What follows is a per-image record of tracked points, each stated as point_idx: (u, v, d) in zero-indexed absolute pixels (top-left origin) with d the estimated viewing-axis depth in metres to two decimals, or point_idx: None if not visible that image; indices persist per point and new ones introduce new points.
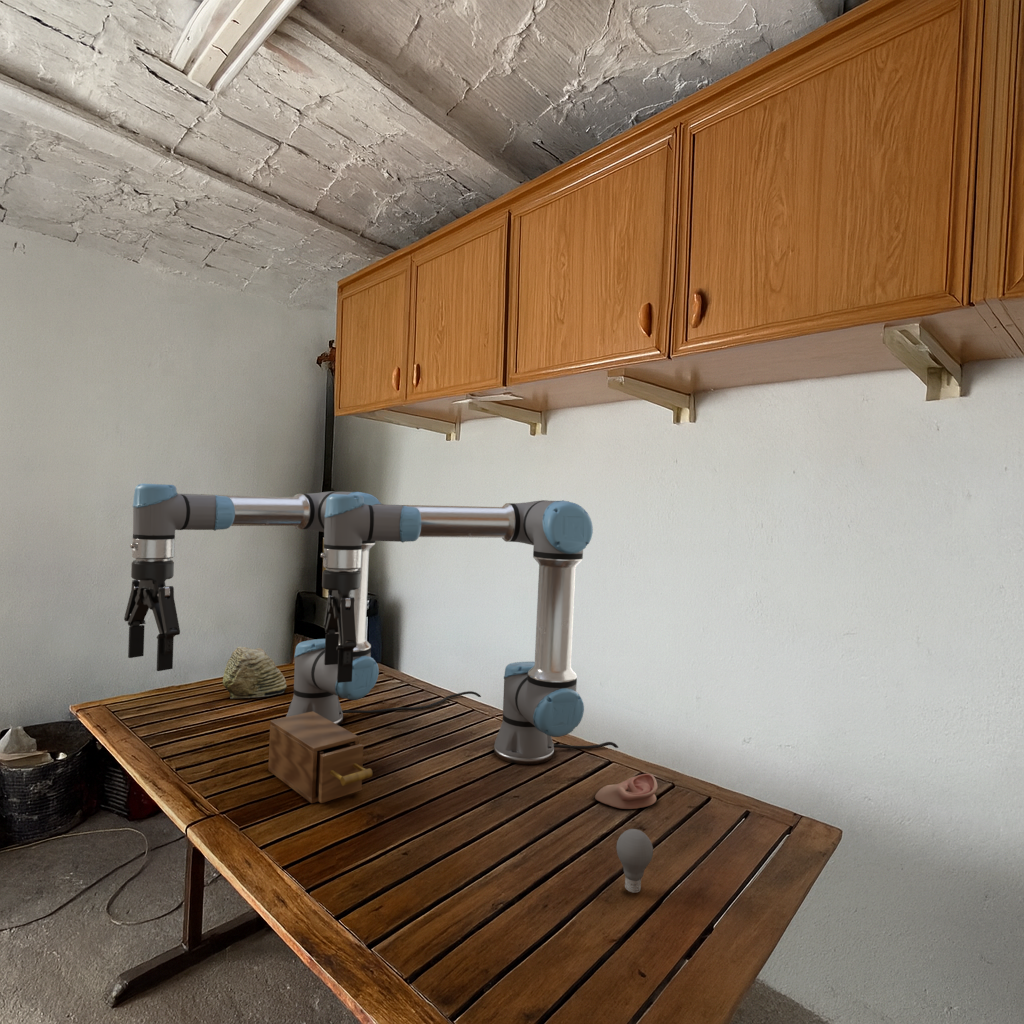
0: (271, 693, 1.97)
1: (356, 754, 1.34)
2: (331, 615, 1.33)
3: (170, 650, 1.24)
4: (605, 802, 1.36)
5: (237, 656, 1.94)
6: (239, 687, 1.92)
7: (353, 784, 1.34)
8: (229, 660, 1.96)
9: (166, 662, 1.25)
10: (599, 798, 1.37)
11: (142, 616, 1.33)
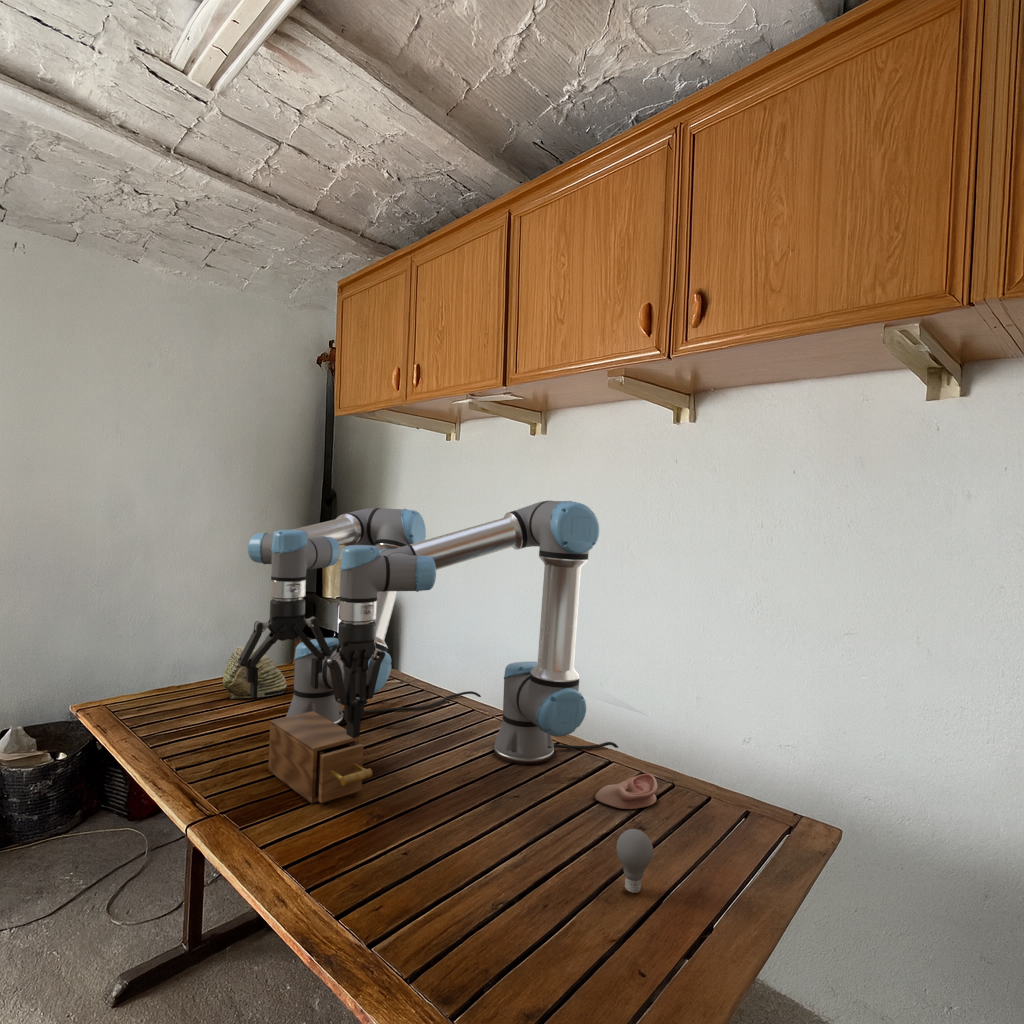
0: (271, 693, 1.97)
1: (356, 754, 1.34)
2: None
3: None
4: (605, 802, 1.36)
5: (237, 656, 1.94)
6: (239, 687, 1.92)
7: (353, 784, 1.34)
8: (229, 660, 1.96)
9: None
10: (599, 798, 1.37)
11: None
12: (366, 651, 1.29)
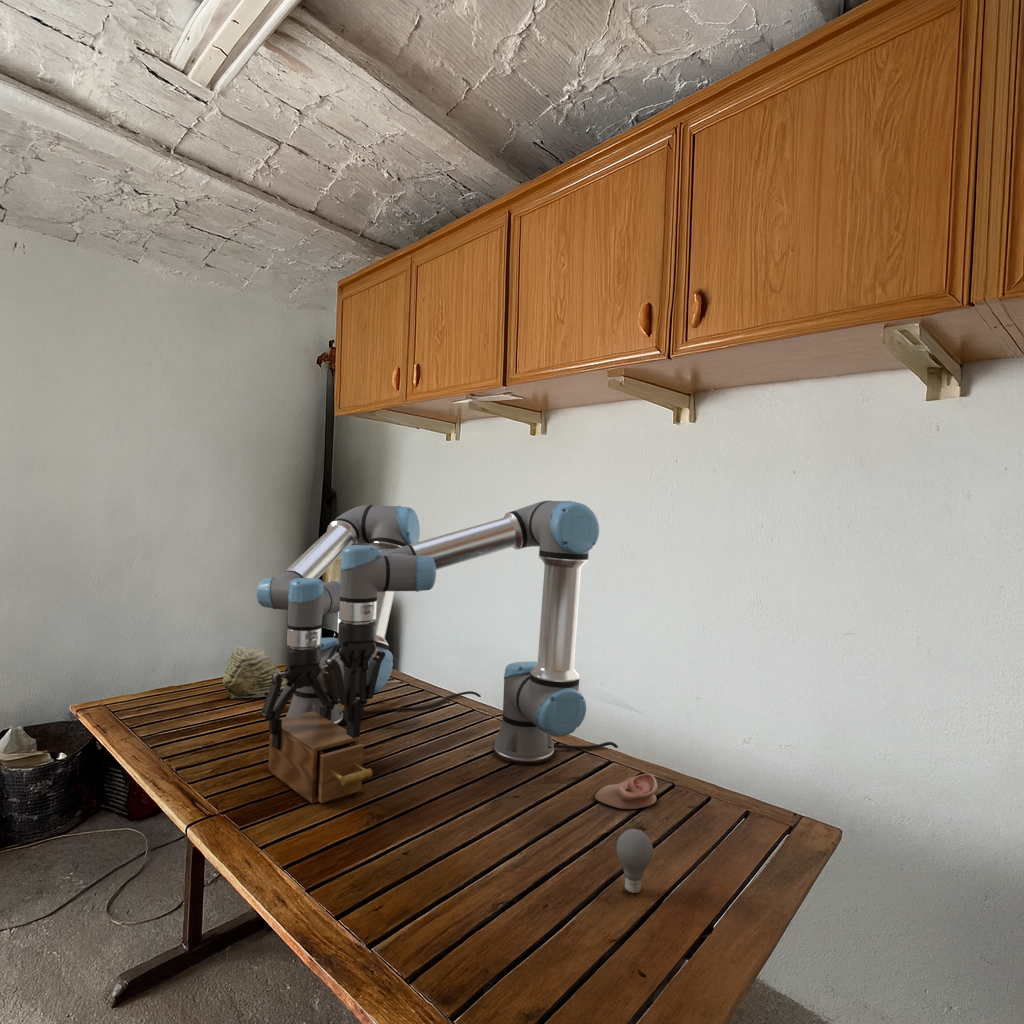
0: None
1: (356, 754, 1.34)
2: None
3: None
4: (605, 802, 1.36)
5: (237, 656, 1.94)
6: (239, 687, 1.92)
7: (353, 784, 1.34)
8: (229, 660, 1.96)
9: None
10: (599, 798, 1.37)
11: None
12: (366, 651, 1.29)
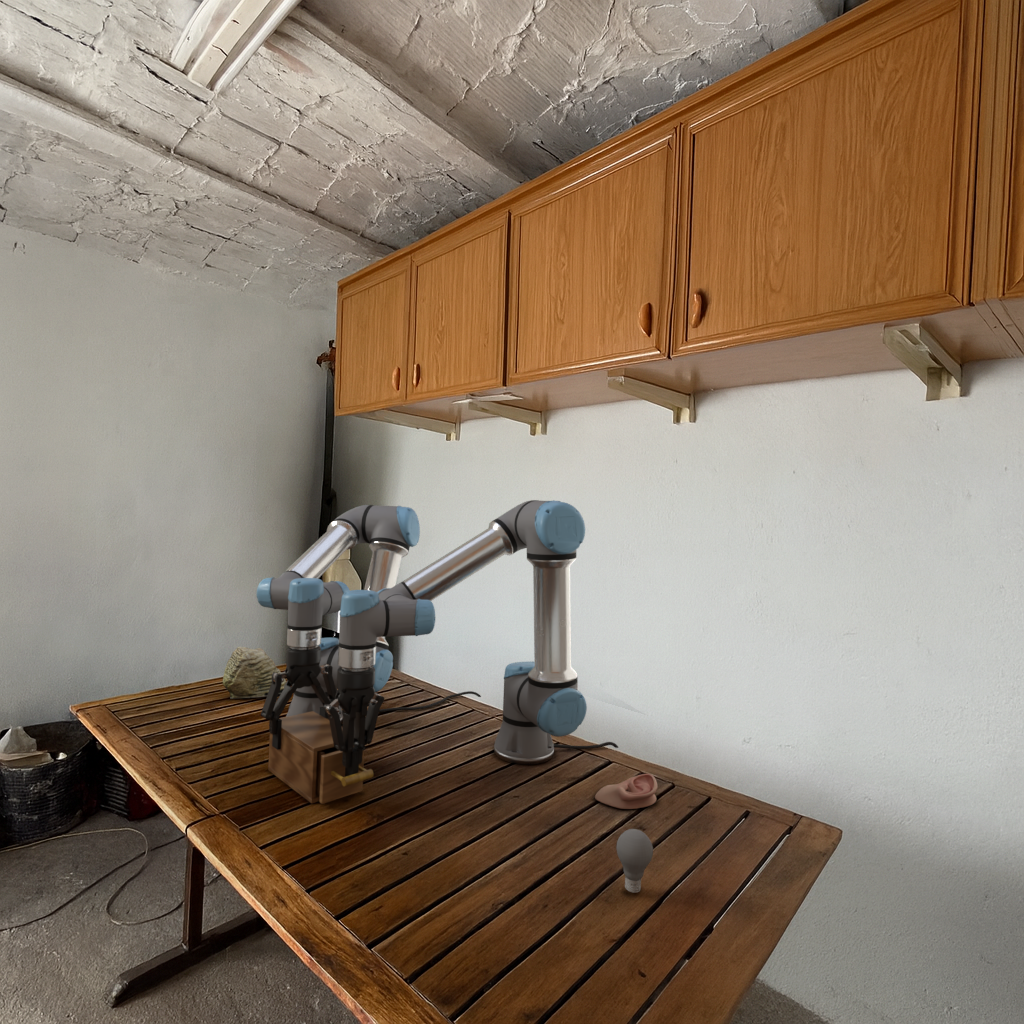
0: None
1: None
2: None
3: None
4: (605, 802, 1.36)
5: (237, 656, 1.94)
6: (239, 687, 1.92)
7: (354, 785, 1.34)
8: (229, 660, 1.96)
9: None
10: (599, 798, 1.37)
11: None
12: (365, 697, 1.29)
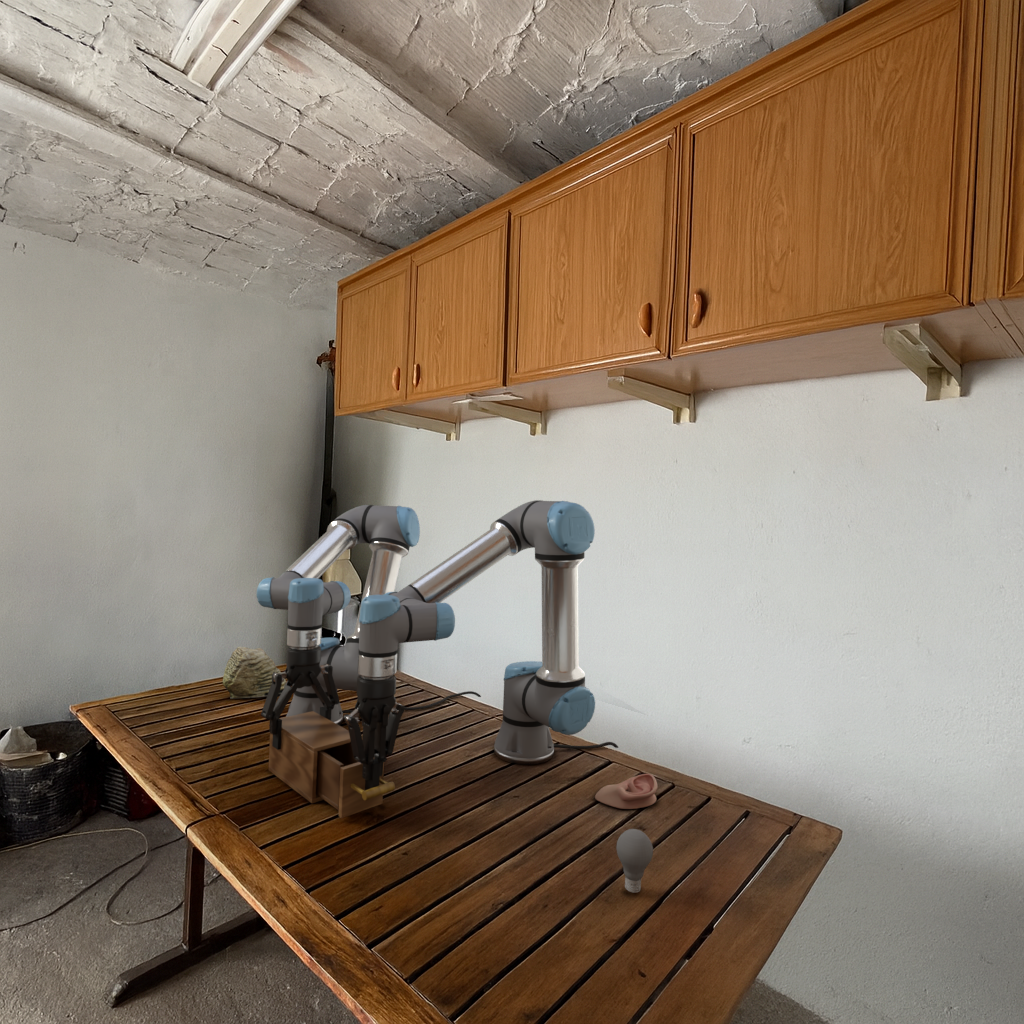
0: None
1: None
2: None
3: None
4: (605, 802, 1.36)
5: (237, 656, 1.94)
6: (239, 687, 1.92)
7: (374, 798, 1.29)
8: (229, 660, 1.96)
9: None
10: (599, 798, 1.37)
11: None
12: (386, 706, 1.24)
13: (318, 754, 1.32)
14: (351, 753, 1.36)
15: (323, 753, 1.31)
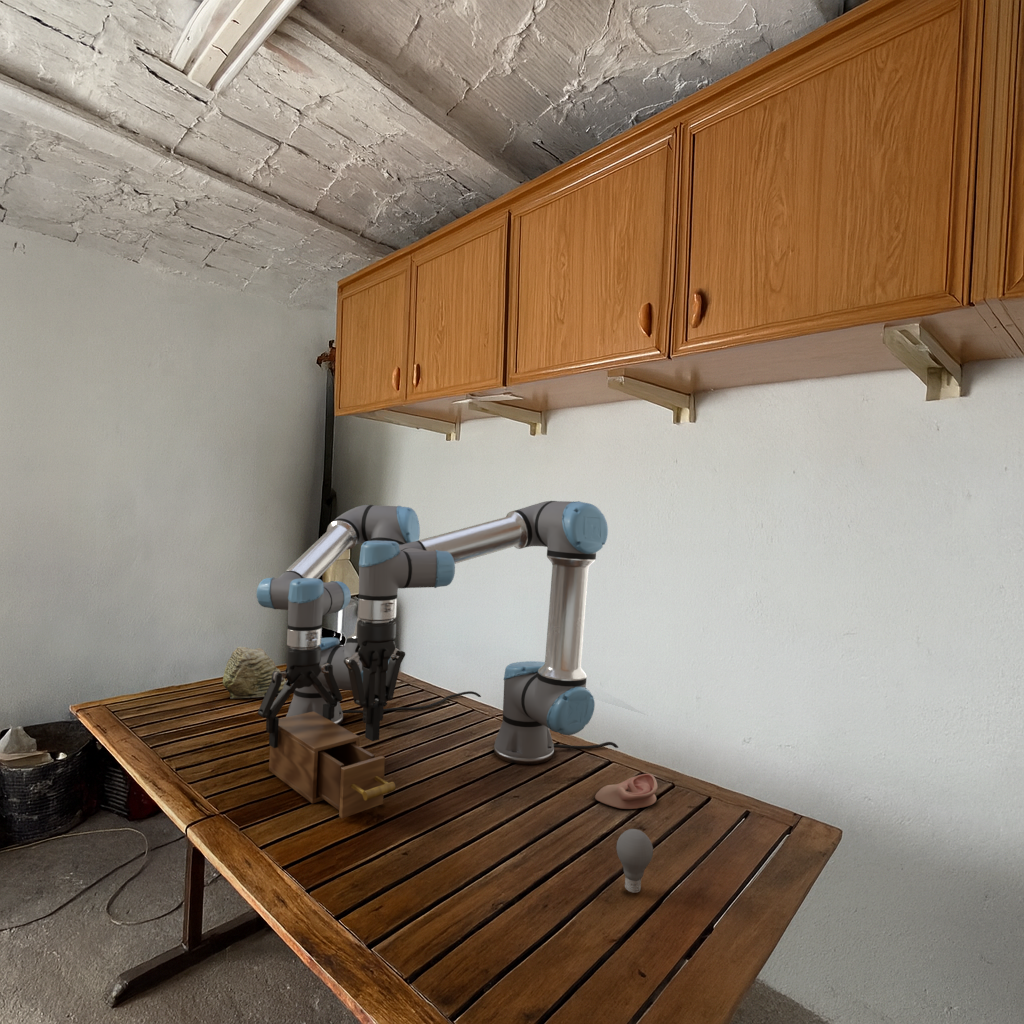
0: None
1: (377, 766, 1.29)
2: None
3: None
4: (605, 802, 1.36)
5: (237, 656, 1.94)
6: (239, 687, 1.92)
7: (374, 798, 1.29)
8: (229, 660, 1.96)
9: None
10: (599, 798, 1.37)
11: None
12: (386, 651, 1.24)
13: (319, 754, 1.32)
14: (352, 753, 1.36)
15: (324, 753, 1.31)
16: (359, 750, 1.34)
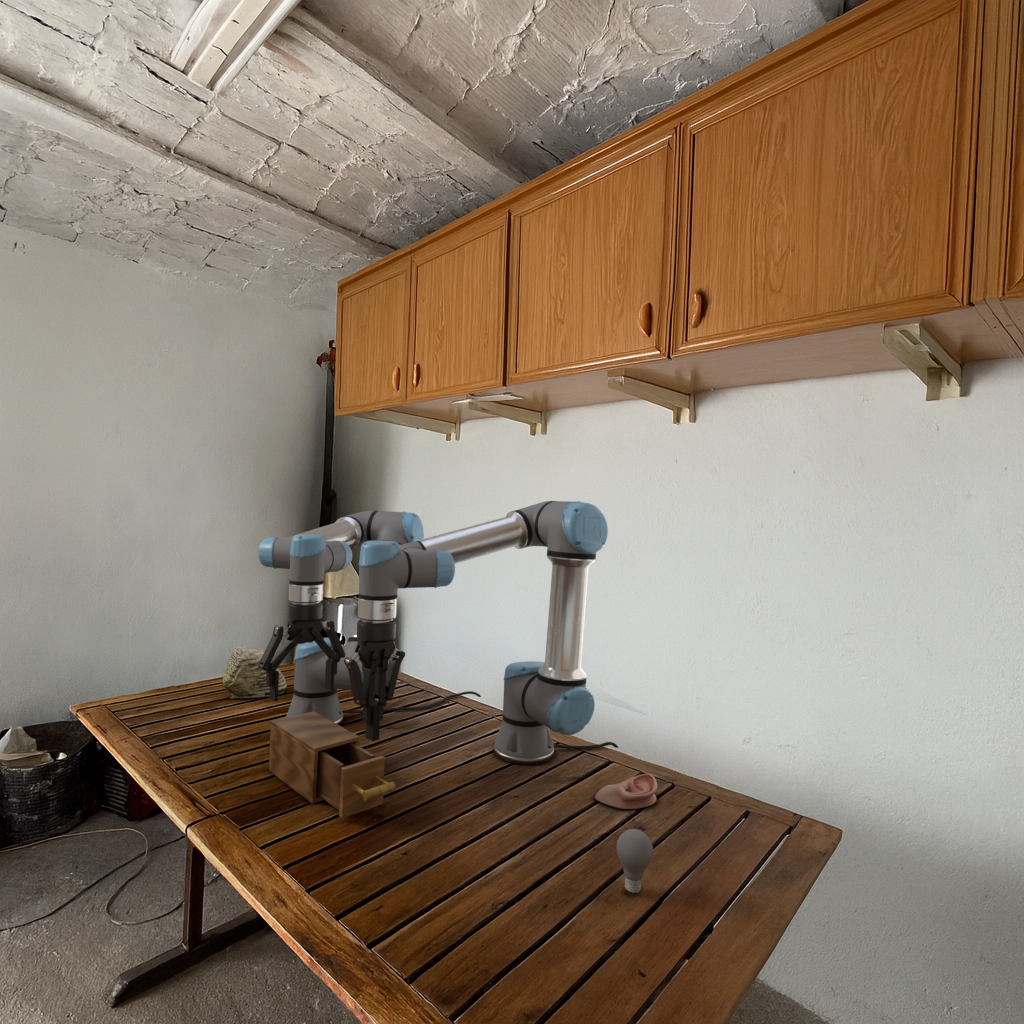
0: None
1: (377, 766, 1.29)
2: None
3: None
4: (605, 802, 1.36)
5: (237, 656, 1.94)
6: (239, 687, 1.92)
7: (374, 798, 1.29)
8: (229, 660, 1.96)
9: None
10: (599, 798, 1.37)
11: None
12: (386, 651, 1.24)
13: (319, 754, 1.32)
14: (352, 753, 1.36)
15: (324, 753, 1.31)
16: (359, 750, 1.34)
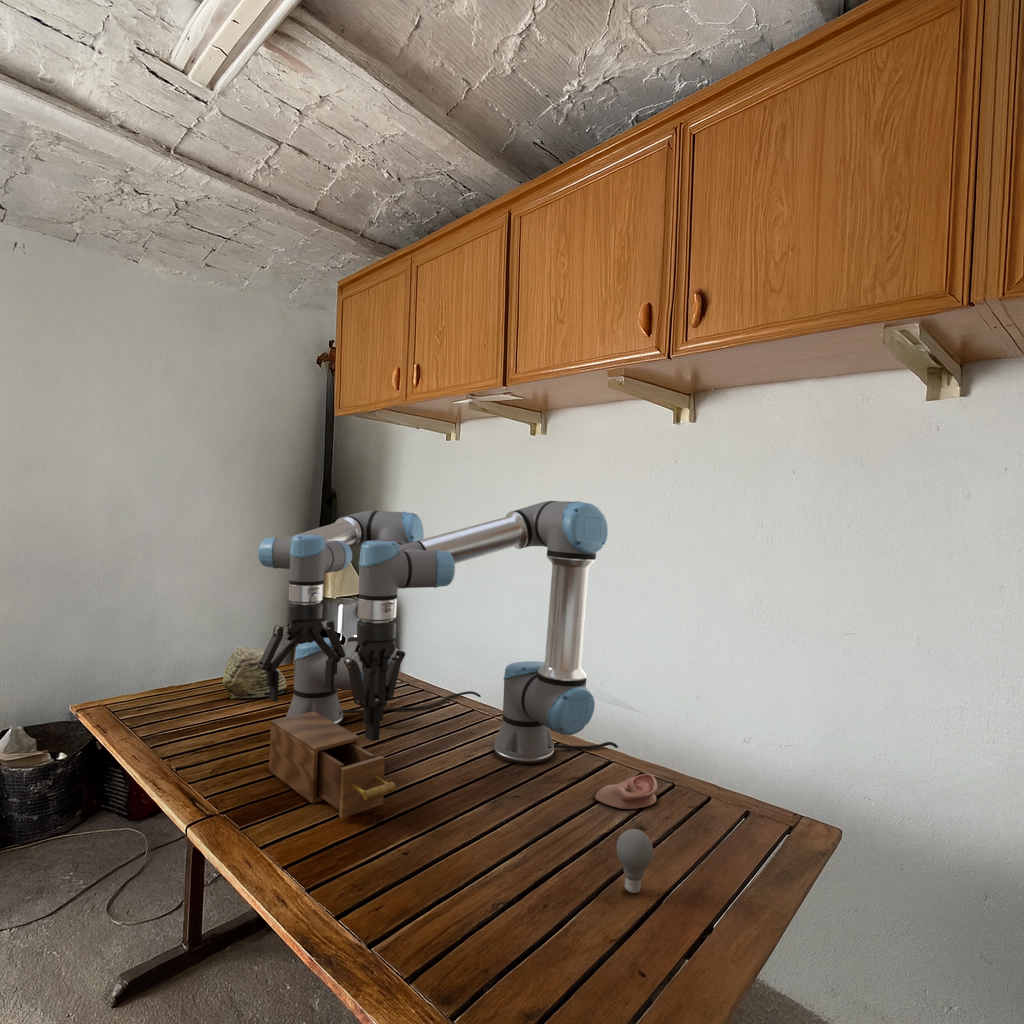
0: None
1: (377, 766, 1.29)
2: None
3: None
4: (605, 802, 1.36)
5: (237, 656, 1.94)
6: (239, 687, 1.92)
7: (374, 798, 1.29)
8: (229, 660, 1.96)
9: None
10: (599, 798, 1.37)
11: None
12: (386, 651, 1.24)
13: (319, 754, 1.32)
14: (352, 753, 1.36)
15: (324, 753, 1.31)
16: (359, 750, 1.34)
